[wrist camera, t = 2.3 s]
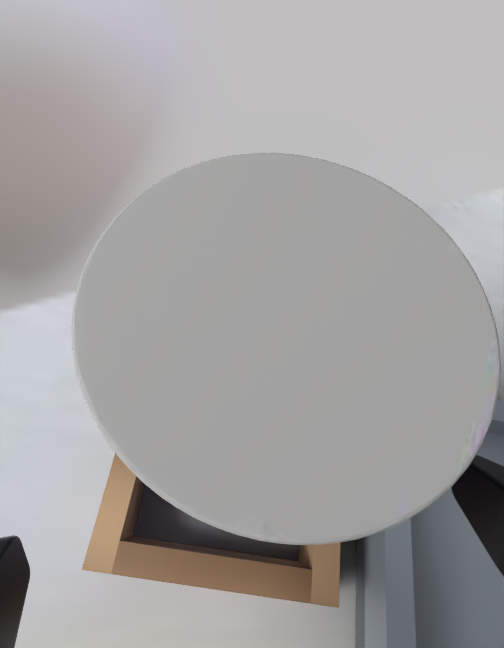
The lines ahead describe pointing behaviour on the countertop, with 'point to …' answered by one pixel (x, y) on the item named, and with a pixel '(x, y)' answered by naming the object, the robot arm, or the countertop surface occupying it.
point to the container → (286, 348)
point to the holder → (202, 555)
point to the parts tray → (432, 577)
